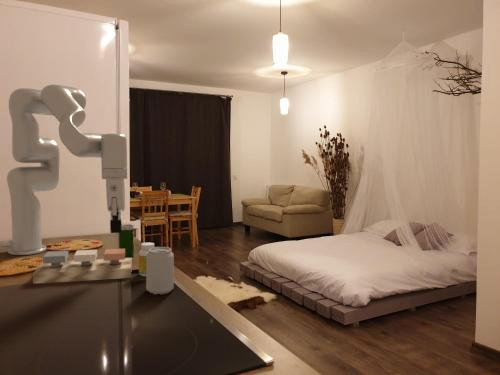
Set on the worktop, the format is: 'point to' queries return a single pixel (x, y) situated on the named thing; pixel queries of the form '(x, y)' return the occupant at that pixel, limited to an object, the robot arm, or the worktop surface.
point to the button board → (83, 271)
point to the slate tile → (55, 258)
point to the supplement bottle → (144, 257)
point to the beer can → (127, 240)
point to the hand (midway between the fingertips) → (115, 232)
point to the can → (160, 270)
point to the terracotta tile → (114, 255)
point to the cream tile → (85, 256)
